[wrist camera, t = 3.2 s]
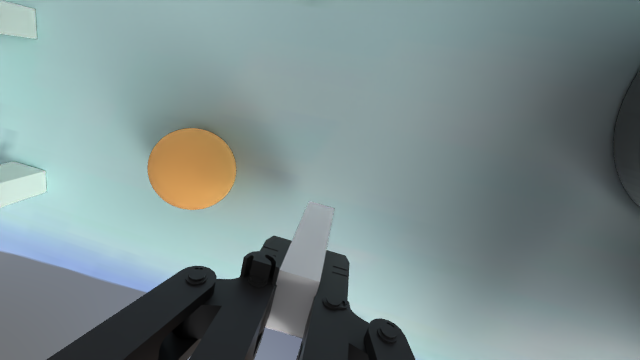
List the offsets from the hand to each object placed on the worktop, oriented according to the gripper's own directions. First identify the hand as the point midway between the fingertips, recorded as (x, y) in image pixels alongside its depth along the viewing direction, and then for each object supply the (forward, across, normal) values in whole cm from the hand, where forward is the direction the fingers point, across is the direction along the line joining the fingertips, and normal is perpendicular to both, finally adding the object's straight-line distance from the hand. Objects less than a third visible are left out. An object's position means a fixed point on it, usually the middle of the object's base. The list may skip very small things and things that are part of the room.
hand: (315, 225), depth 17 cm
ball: (+3, +9, 0) cm, 9 cm away
